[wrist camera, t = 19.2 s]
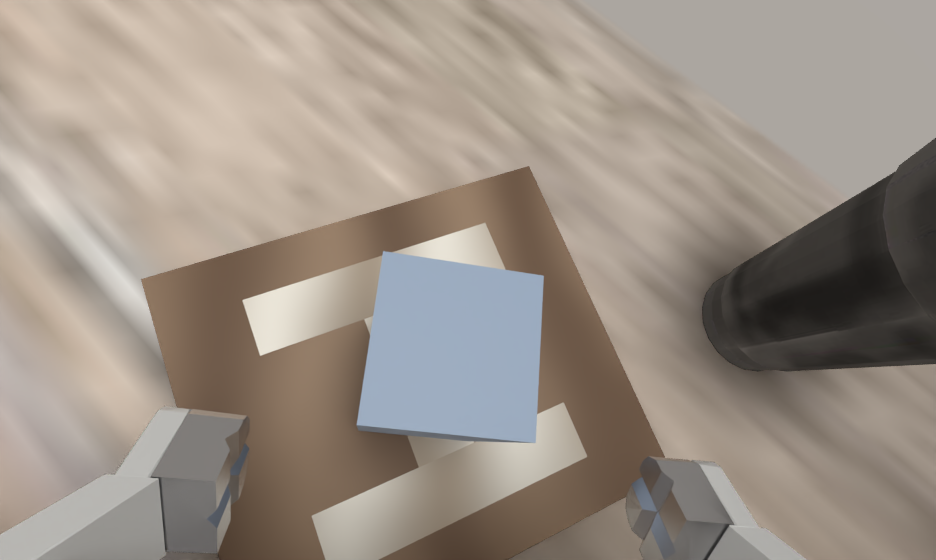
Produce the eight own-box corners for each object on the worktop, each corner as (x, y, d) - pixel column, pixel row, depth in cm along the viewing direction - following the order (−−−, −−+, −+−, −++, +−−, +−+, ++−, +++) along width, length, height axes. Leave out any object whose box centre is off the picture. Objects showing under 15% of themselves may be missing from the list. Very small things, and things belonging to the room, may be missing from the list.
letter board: (525, 171, 24) (529, 165, 23) (664, 471, 21) (672, 471, 20) (146, 283, 19) (140, 279, 19) (260, 685, 16) (256, 693, 16)
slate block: (374, 322, 20) (382, 250, 12) (476, 335, 20) (544, 275, 13) (358, 430, 19) (356, 425, 11) (467, 441, 19) (535, 442, 12)
